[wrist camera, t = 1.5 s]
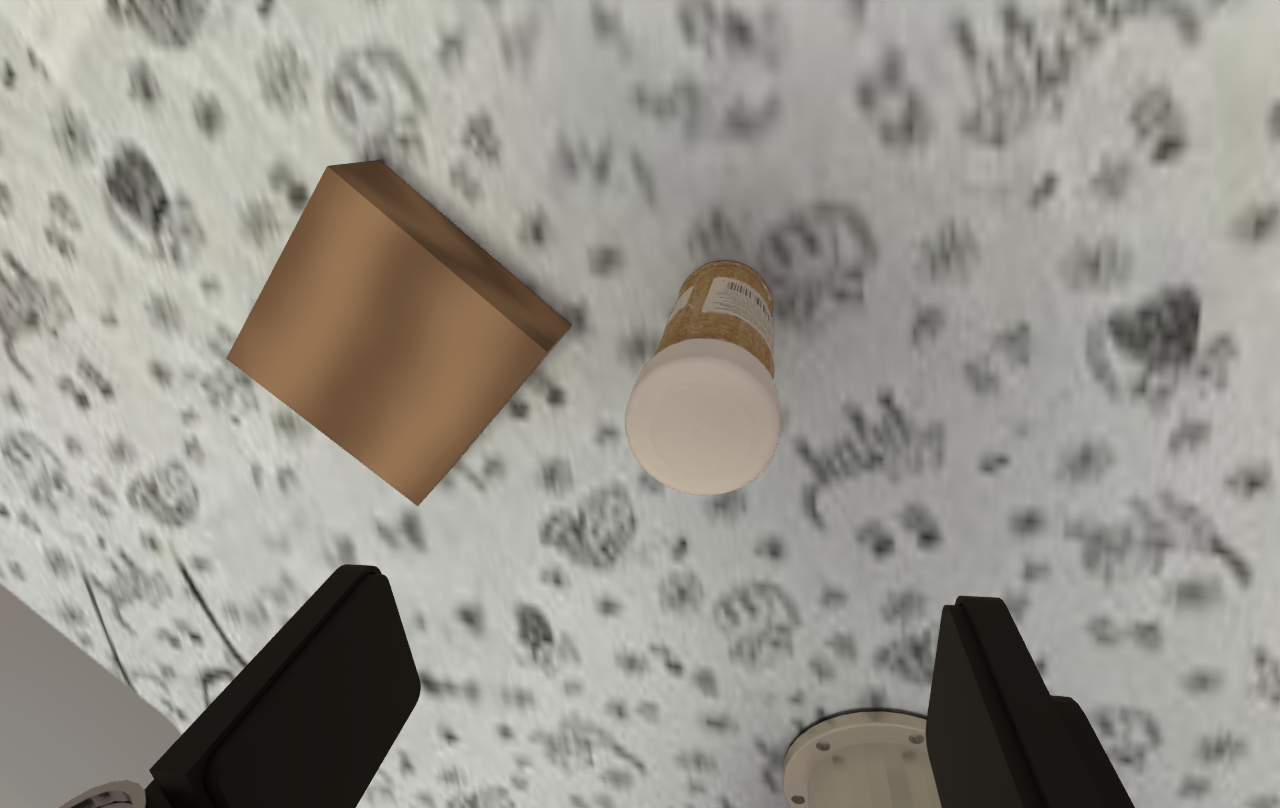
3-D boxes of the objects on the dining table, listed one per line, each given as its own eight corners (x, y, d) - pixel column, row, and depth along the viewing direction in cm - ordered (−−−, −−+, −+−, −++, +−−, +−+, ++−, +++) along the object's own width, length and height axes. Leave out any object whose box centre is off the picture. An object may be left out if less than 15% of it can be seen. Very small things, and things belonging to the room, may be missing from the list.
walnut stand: (571, 325, 32) (547, 352, 28) (451, 468, 37) (417, 506, 33) (379, 160, 30) (327, 166, 26) (281, 334, 35) (226, 358, 32)
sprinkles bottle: (660, 289, 30) (591, 404, 18) (744, 239, 29) (729, 329, 17) (709, 367, 31) (673, 523, 19) (792, 323, 30) (810, 464, 18)
